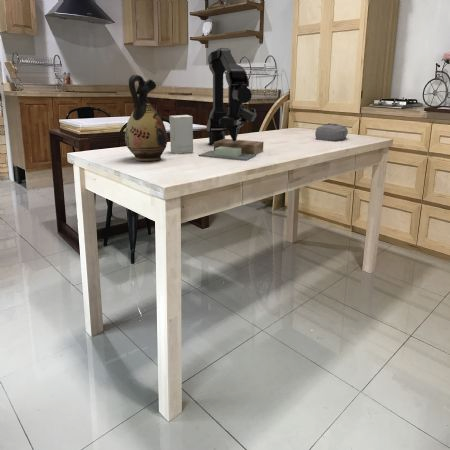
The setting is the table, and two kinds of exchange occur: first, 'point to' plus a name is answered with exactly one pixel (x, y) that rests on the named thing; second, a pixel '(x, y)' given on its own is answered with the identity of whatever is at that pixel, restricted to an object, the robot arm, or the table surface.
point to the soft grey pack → (331, 132)
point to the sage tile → (228, 151)
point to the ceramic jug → (144, 124)
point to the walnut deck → (241, 145)
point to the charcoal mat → (240, 157)
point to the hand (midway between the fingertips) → (234, 141)
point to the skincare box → (181, 134)
